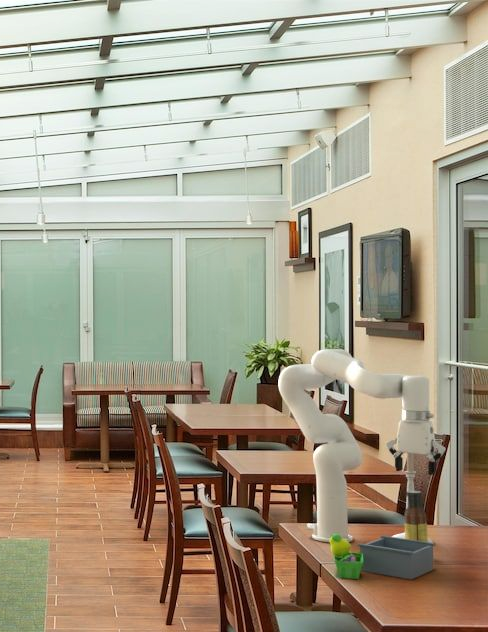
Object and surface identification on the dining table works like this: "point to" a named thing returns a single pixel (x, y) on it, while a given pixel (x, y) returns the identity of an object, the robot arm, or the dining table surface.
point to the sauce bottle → (415, 518)
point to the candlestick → (409, 485)
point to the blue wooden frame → (397, 557)
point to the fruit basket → (345, 558)
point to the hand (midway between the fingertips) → (415, 472)
